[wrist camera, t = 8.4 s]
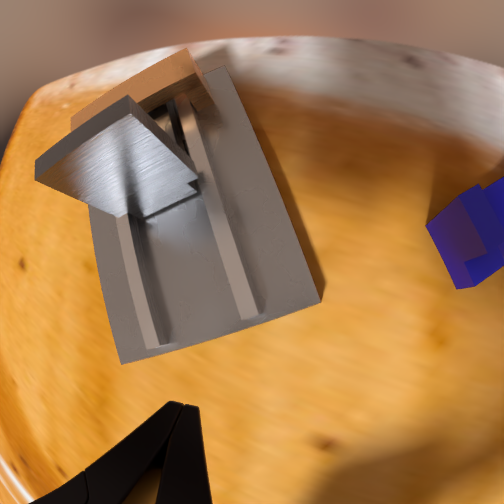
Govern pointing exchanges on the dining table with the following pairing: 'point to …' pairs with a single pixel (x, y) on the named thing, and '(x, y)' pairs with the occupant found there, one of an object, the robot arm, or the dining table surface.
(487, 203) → the blue saddle bracket
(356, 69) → the dining table surface
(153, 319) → the rail base
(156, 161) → the metal angle bracket
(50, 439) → the dining table surface
